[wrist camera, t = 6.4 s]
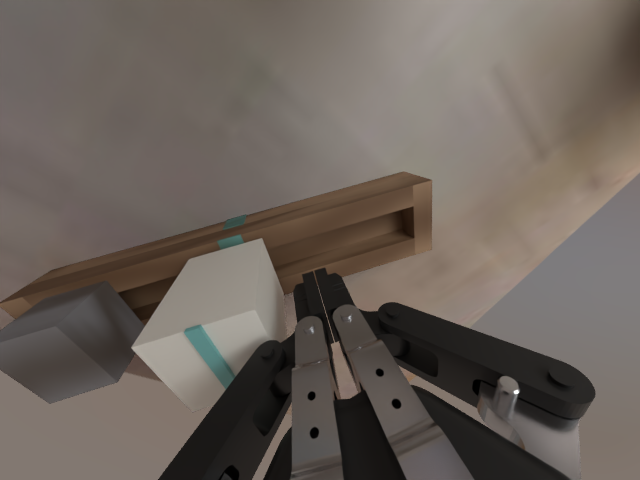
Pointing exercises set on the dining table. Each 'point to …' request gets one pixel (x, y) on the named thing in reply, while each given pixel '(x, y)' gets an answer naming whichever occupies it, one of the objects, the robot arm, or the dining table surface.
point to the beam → (170, 258)
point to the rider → (213, 322)
